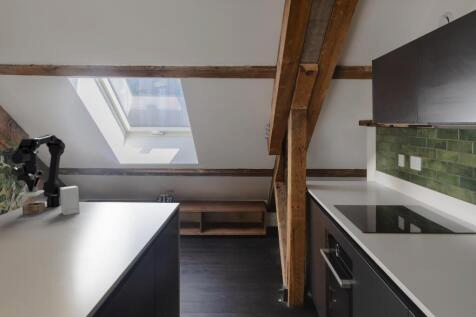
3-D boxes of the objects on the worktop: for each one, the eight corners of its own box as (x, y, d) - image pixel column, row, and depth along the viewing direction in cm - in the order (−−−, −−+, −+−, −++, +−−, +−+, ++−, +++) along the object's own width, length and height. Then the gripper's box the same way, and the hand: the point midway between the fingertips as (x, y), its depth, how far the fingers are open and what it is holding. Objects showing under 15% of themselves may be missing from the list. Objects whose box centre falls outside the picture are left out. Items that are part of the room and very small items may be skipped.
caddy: (45, 210, 180) (44, 202, 180) (39, 214, 172) (38, 205, 172) (29, 211, 179) (28, 202, 178) (22, 215, 171) (22, 206, 170)
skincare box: (77, 211, 182) (76, 185, 180) (80, 213, 177) (79, 186, 176) (60, 213, 177) (59, 186, 175) (63, 215, 172) (61, 188, 171)
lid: (44, 193, 176) (43, 185, 175) (37, 196, 167) (37, 188, 167) (26, 194, 174) (26, 185, 174) (19, 197, 166) (18, 188, 165)
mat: (53, 211, 180) (52, 211, 180) (41, 220, 164) (41, 219, 164) (31, 212, 178) (31, 212, 178) (17, 221, 162) (17, 220, 162)
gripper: (22, 160, 177) (23, 188, 178) (4, 163, 159) (5, 195, 160) (44, 160, 179) (45, 188, 180) (28, 163, 161) (30, 194, 162)
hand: (31, 191), depth 171 cm, fingers closed on lid, 2 cm apart
